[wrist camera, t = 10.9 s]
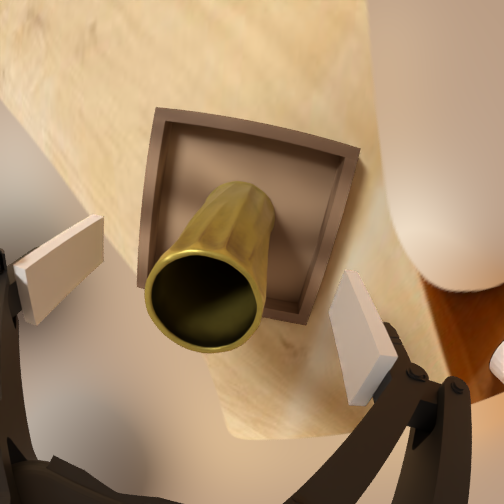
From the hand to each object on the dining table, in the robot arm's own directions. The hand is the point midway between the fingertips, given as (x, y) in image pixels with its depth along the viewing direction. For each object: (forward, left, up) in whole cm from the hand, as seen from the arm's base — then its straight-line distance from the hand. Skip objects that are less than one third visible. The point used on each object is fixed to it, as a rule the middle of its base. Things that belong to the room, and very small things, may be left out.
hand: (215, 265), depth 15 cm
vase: (0, 0, -11) cm, 11 cm away
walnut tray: (0, 0, -12) cm, 12 cm away
